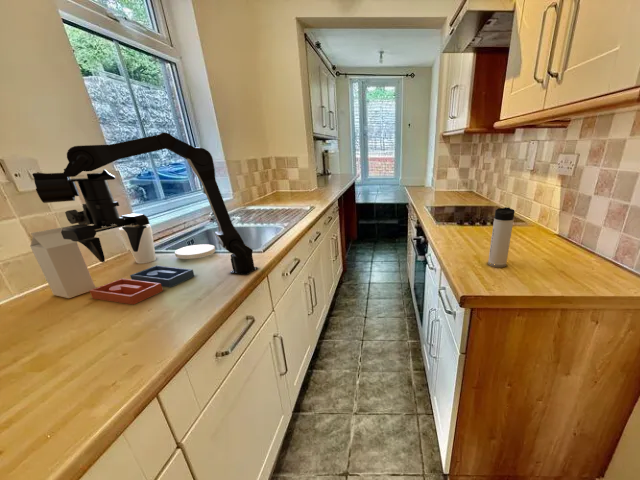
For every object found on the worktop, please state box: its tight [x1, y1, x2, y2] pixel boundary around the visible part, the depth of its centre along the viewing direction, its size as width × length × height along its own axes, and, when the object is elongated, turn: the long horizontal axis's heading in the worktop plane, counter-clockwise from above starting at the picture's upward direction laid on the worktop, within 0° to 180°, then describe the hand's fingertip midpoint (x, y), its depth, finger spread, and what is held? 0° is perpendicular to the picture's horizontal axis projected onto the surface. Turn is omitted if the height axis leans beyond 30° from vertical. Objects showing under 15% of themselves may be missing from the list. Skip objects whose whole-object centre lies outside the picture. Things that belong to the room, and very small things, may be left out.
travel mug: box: [487, 206, 516, 269], centre depth 111 cm, size 6×7×20 cm
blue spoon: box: [147, 270, 178, 279], centre depth 103 cm, size 11×5×2 cm, turn 75°
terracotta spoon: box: [109, 284, 143, 295], centre depth 93 cm, size 11×5×2 cm, turn 75°
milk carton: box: [29, 226, 97, 299], centre depth 91 cm, size 7×7×19 cm
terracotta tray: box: [89, 277, 164, 305], centre depth 93 cm, size 15×9×2 cm, turn 75°
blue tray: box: [129, 265, 195, 288], centre depth 104 cm, size 15×9×2 cm, turn 75°
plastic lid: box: [174, 243, 216, 260], centre depth 126 cm, size 14×14×2 cm
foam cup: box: [118, 224, 157, 264], centre depth 119 cm, size 10×9×13 cm
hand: (120, 256), depth 88 cm, fingers open, 9 cm apart
